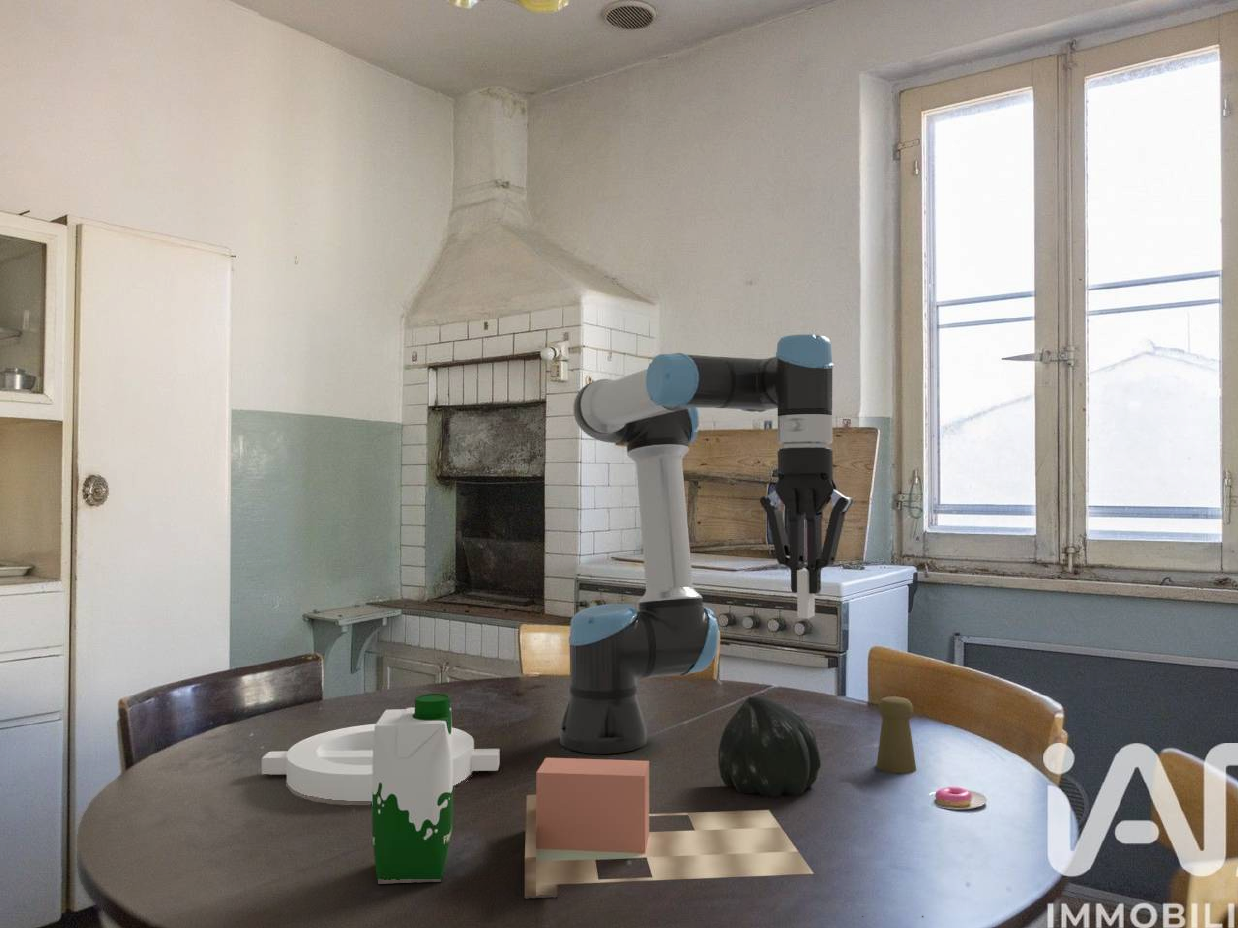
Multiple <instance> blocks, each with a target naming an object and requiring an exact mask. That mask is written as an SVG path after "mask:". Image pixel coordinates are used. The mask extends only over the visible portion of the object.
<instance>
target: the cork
mask: <svg viewBox="0 0 1238 928" xmlns="http://www.w3.org/2000/svg"><path fill="white" fill-rule="evenodd" d="M878 703H879V704H878V712H879V715H880V717H881V718H882V719H881V727H880V734H879V736H880V737H879V742H878V743H879V744H878V749H877V750H878V752H877V759H876V765H875V766H876V768H877V770H880V771H882V772H886V773H890V774H899V775H901V774H902V775H903V774H904V775H905V774H911V773H916V771H917V765H916V758H915V751H914V745H913V737H912V729H911V723H910V719H911V718H912V717H913V713H914V707H913V704H912V702H911V700H909V699H908V698H906V697H901V696H897V695H896V696H891V695H890V696H885V697H883V698H881V700H880V701H879V702H878Z"/></svg>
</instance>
